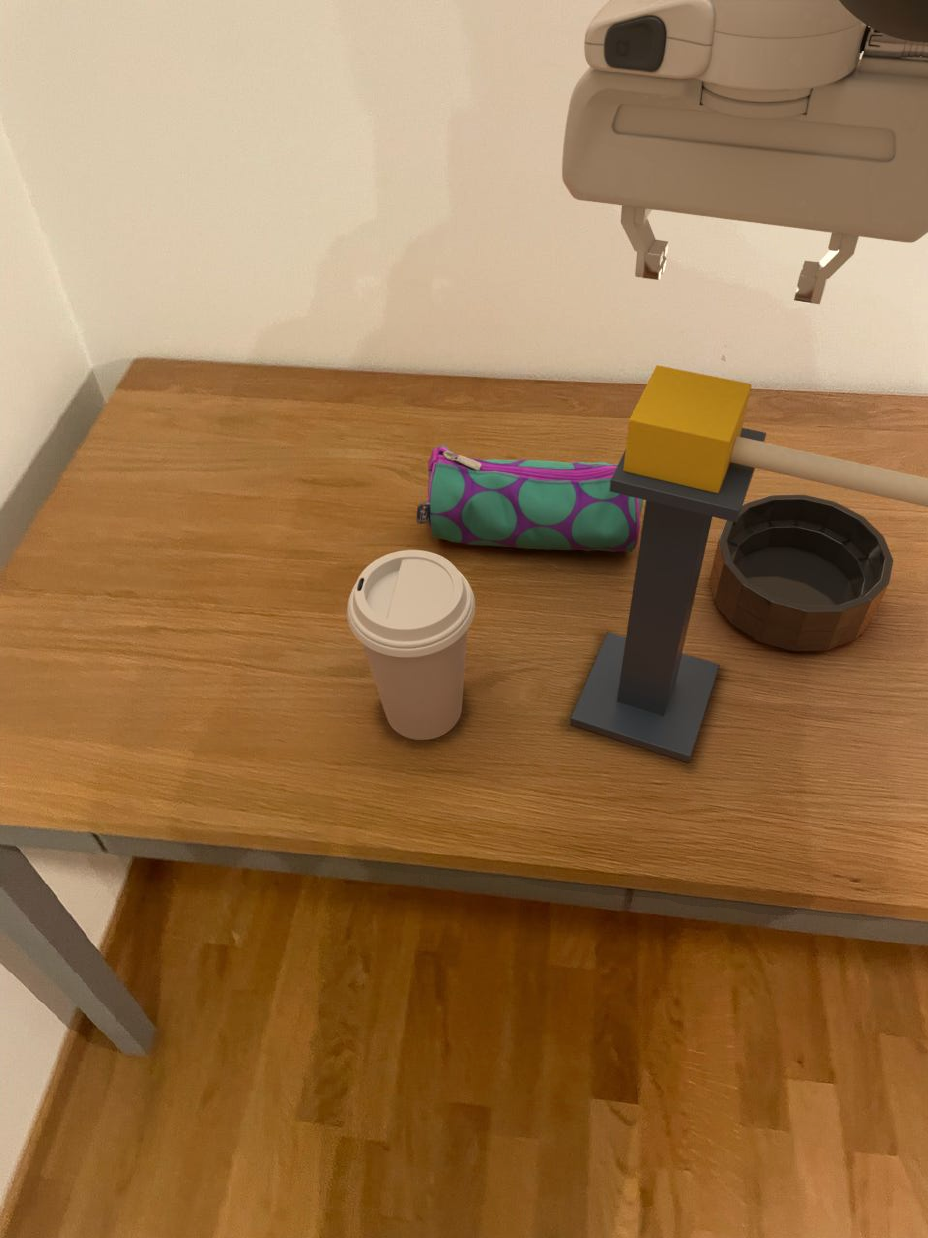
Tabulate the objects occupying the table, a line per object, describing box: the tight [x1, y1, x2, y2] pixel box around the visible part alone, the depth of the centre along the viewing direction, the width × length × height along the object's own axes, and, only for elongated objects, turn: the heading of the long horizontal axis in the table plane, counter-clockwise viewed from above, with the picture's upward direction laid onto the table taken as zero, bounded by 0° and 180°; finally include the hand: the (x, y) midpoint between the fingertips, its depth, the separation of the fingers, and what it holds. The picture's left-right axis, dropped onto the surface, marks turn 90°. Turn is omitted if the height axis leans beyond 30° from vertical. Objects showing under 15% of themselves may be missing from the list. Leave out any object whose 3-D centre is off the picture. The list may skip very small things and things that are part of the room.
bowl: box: [709, 493, 894, 652], centre depth 83 cm, size 14×14×6 cm
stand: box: [569, 426, 767, 764], centre depth 68 cm, size 10×10×26 cm
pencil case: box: [416, 444, 644, 553], centre depth 88 cm, size 21×9×10 cm, turn 82°
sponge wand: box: [623, 364, 928, 508], centre depth 55 cm, size 19×6×4 cm, turn 67°
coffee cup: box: [346, 549, 476, 741], centre depth 73 cm, size 10×10×15 cm
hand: (727, 286), depth 55 cm, fingers open, 8 cm apart
